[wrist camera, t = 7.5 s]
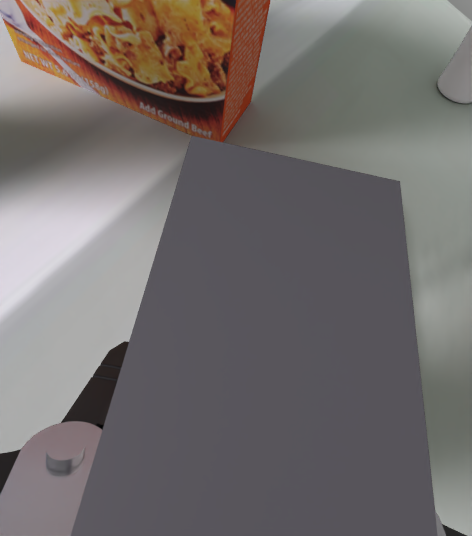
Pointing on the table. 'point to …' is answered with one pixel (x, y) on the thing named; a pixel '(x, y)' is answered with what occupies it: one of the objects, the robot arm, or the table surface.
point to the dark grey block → (269, 363)
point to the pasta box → (149, 54)
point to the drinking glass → (458, 73)
